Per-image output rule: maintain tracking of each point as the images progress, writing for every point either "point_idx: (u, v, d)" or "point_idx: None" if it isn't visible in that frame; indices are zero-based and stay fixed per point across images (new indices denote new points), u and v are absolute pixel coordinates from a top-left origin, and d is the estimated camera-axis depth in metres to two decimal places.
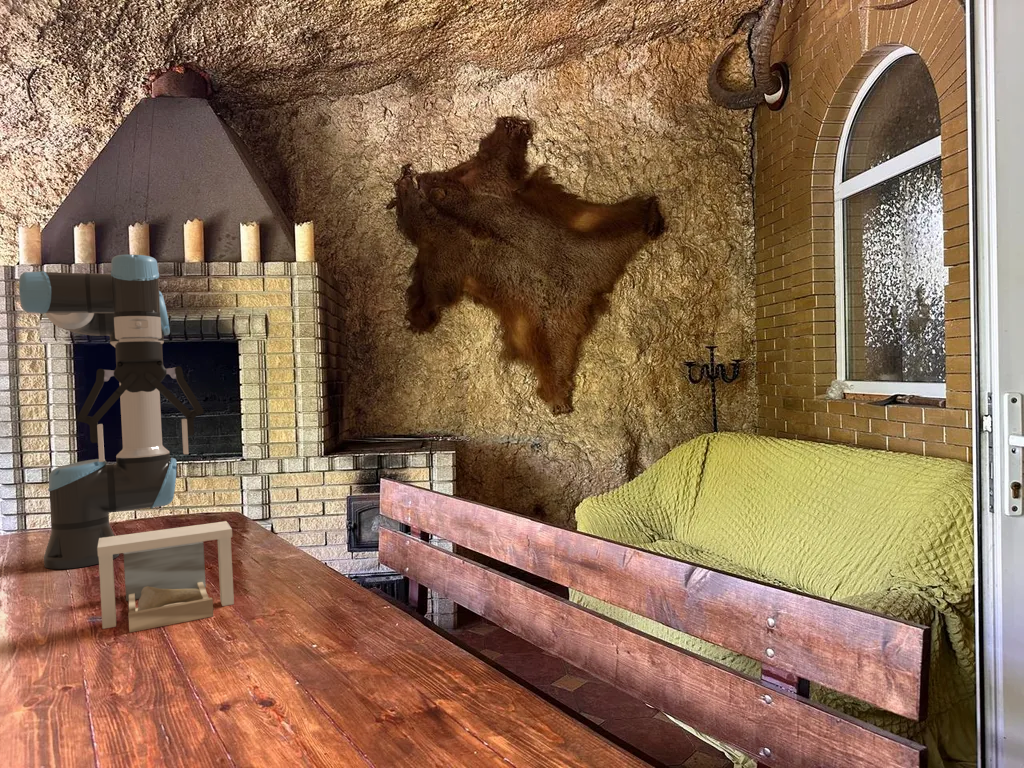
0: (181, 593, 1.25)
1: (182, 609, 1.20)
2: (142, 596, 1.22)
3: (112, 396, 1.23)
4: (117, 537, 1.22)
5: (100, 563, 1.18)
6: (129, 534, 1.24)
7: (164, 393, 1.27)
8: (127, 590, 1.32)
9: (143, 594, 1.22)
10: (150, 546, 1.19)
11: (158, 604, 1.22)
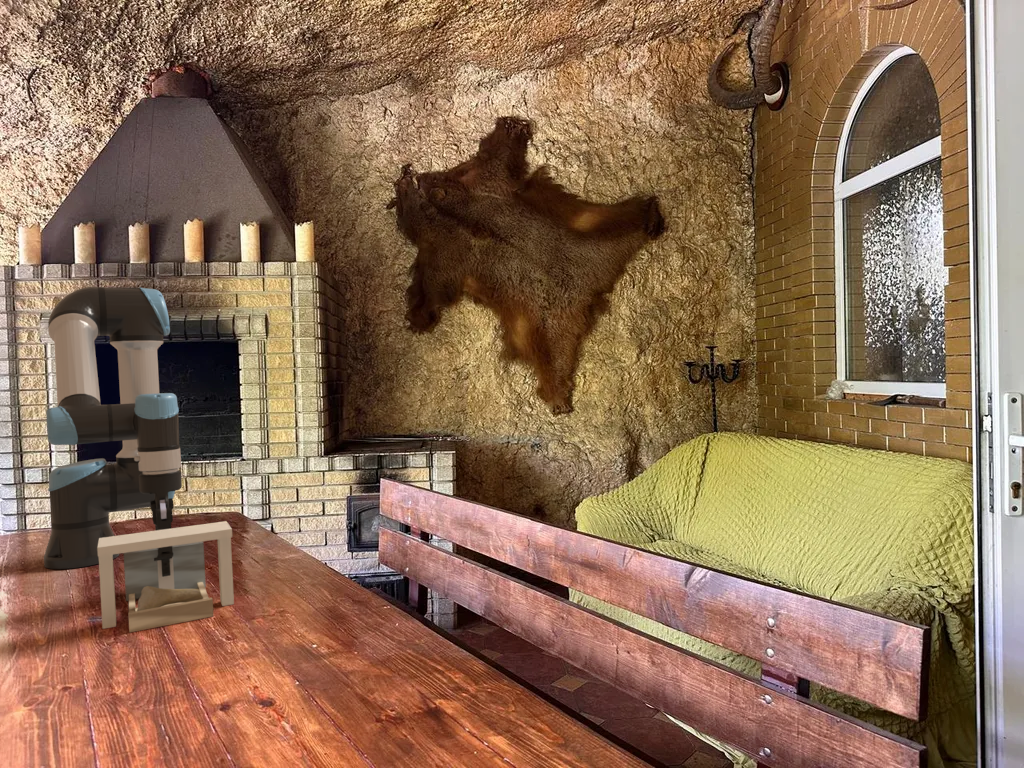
0: (181, 593, 1.25)
1: (182, 609, 1.20)
2: (142, 596, 1.22)
3: None
4: (117, 537, 1.22)
5: (100, 563, 1.18)
6: (129, 534, 1.24)
7: (156, 526, 1.35)
8: (127, 590, 1.32)
9: (143, 594, 1.22)
10: (150, 546, 1.19)
11: (157, 604, 1.22)
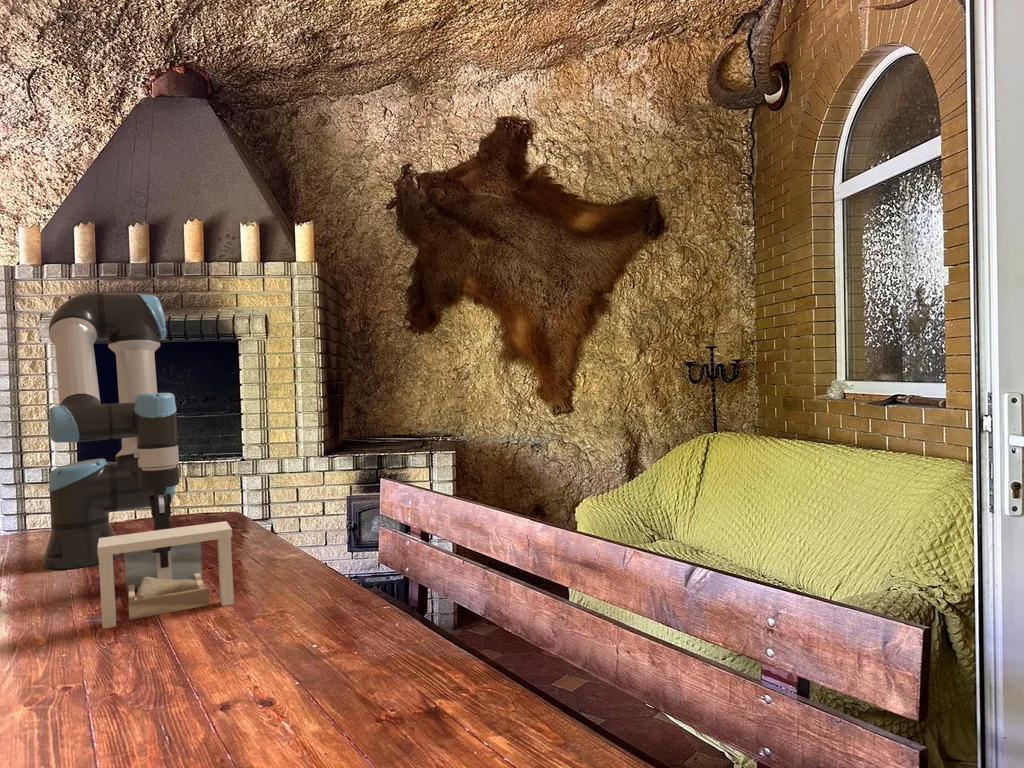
0: (178, 583, 1.31)
1: (180, 598, 1.26)
2: (141, 586, 1.28)
3: (154, 519, 1.45)
4: (117, 537, 1.22)
5: (100, 563, 1.18)
6: (129, 534, 1.24)
7: (155, 520, 1.41)
8: (127, 581, 1.38)
9: (142, 584, 1.28)
10: (150, 546, 1.19)
11: (155, 593, 1.28)
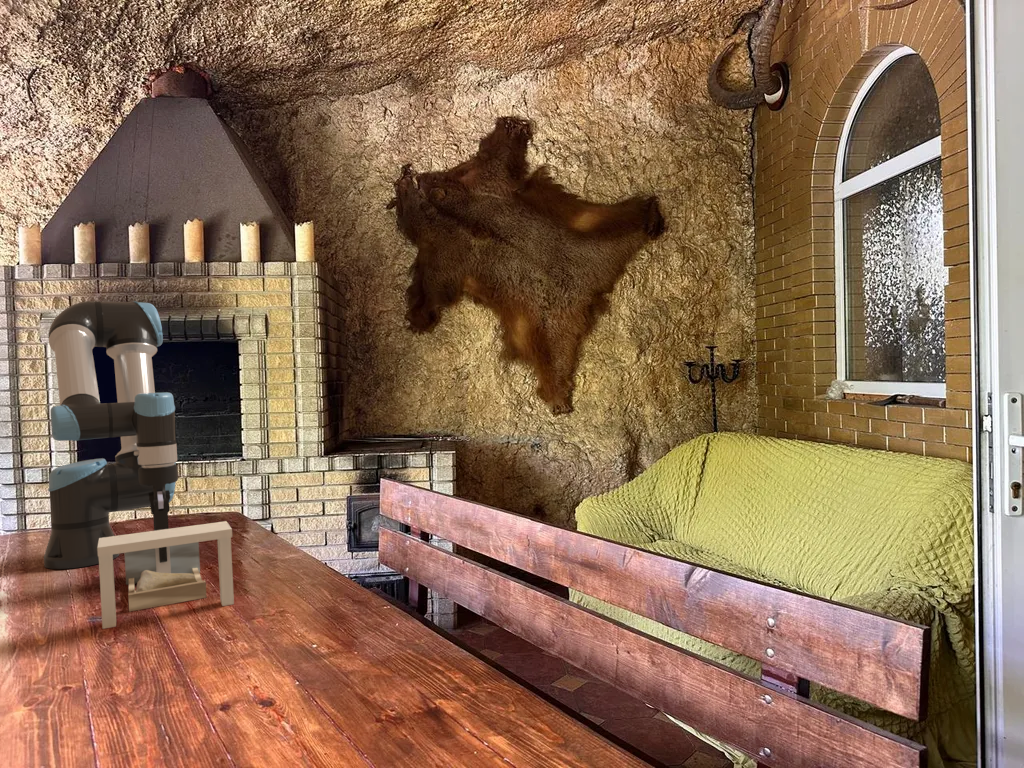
0: (176, 577, 1.36)
1: (178, 591, 1.30)
2: (140, 579, 1.32)
3: None
4: (117, 537, 1.22)
5: (100, 563, 1.18)
6: (129, 534, 1.24)
7: (154, 516, 1.45)
8: (127, 575, 1.43)
9: (141, 577, 1.33)
10: (150, 546, 1.19)
11: (154, 586, 1.32)
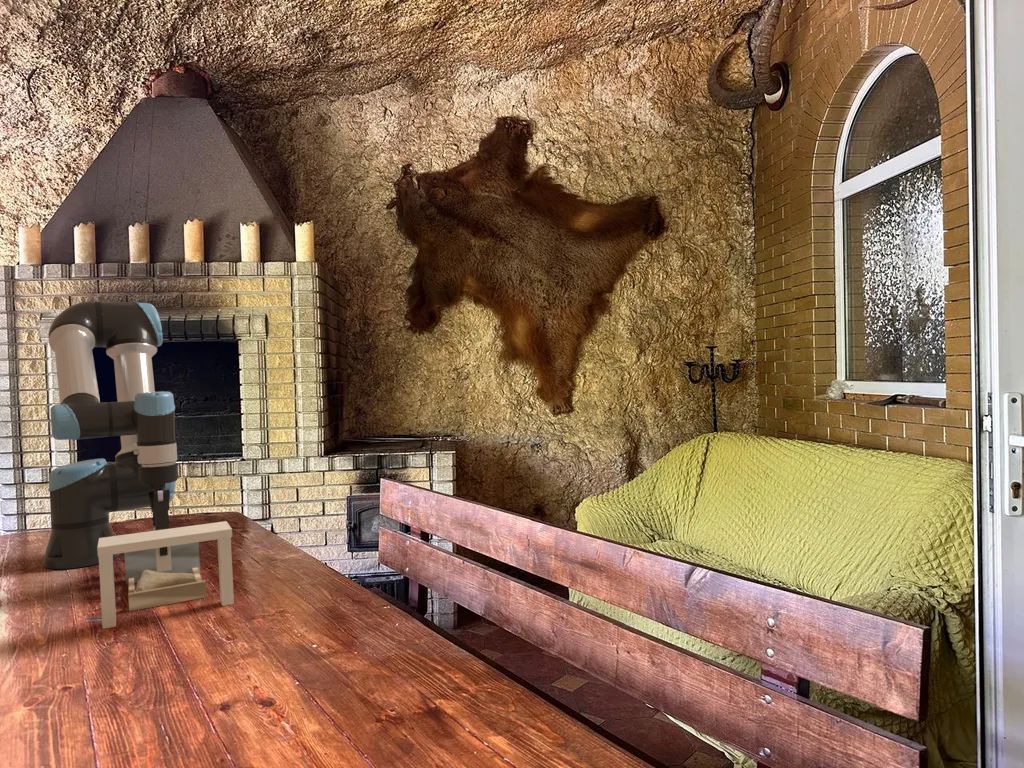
0: (176, 577, 1.36)
1: (178, 590, 1.30)
2: (140, 578, 1.32)
3: None
4: (117, 537, 1.22)
5: (100, 563, 1.18)
6: (129, 534, 1.24)
7: (154, 513, 1.44)
8: (127, 574, 1.43)
9: (141, 577, 1.33)
10: (150, 546, 1.19)
11: (154, 586, 1.32)
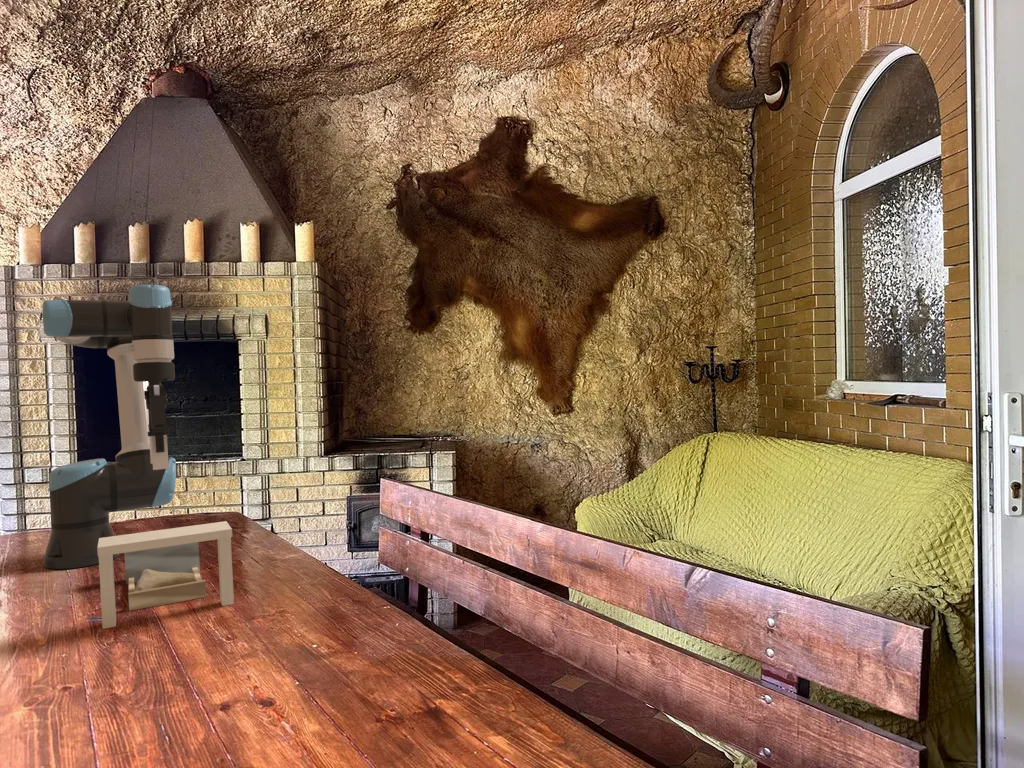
0: (176, 576, 1.36)
1: (178, 590, 1.31)
2: (140, 578, 1.33)
3: None
4: (117, 537, 1.22)
5: (100, 563, 1.18)
6: (129, 534, 1.24)
7: (150, 410, 1.37)
8: (127, 574, 1.43)
9: (141, 576, 1.33)
10: (150, 546, 1.19)
11: (153, 585, 1.32)
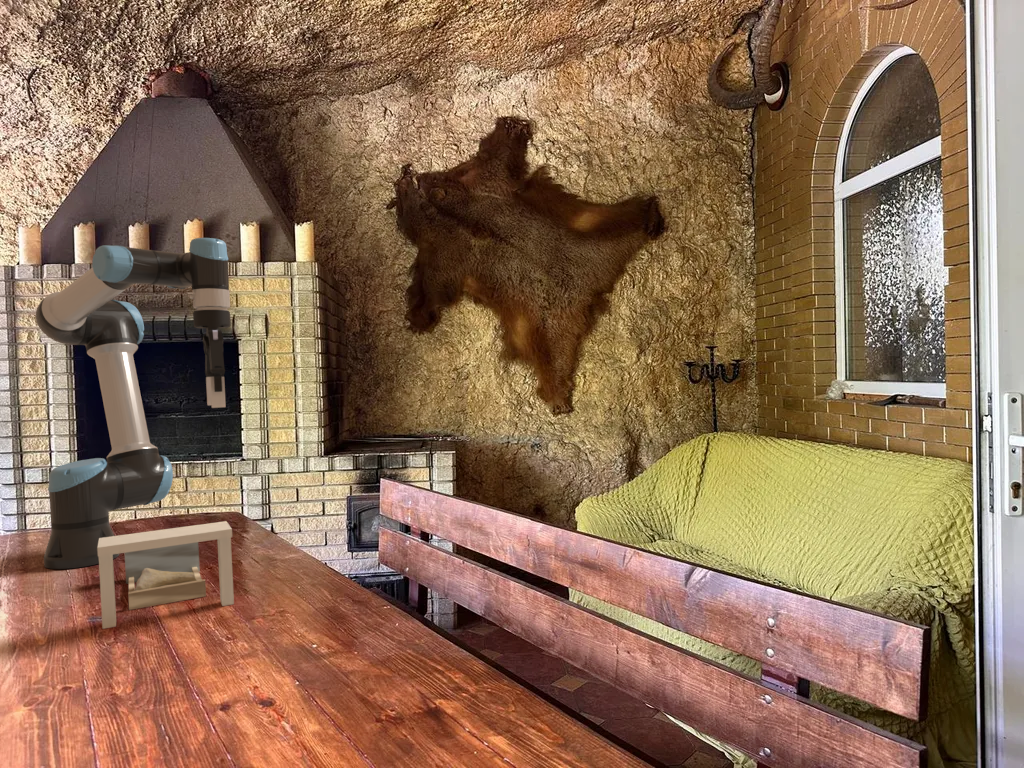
0: (176, 576, 1.36)
1: (178, 589, 1.31)
2: (140, 577, 1.34)
3: (206, 355, 1.56)
4: (117, 537, 1.22)
5: (100, 563, 1.18)
6: (129, 534, 1.24)
7: (208, 353, 1.49)
8: (127, 573, 1.44)
9: (141, 575, 1.34)
10: (150, 546, 1.19)
11: (153, 584, 1.33)
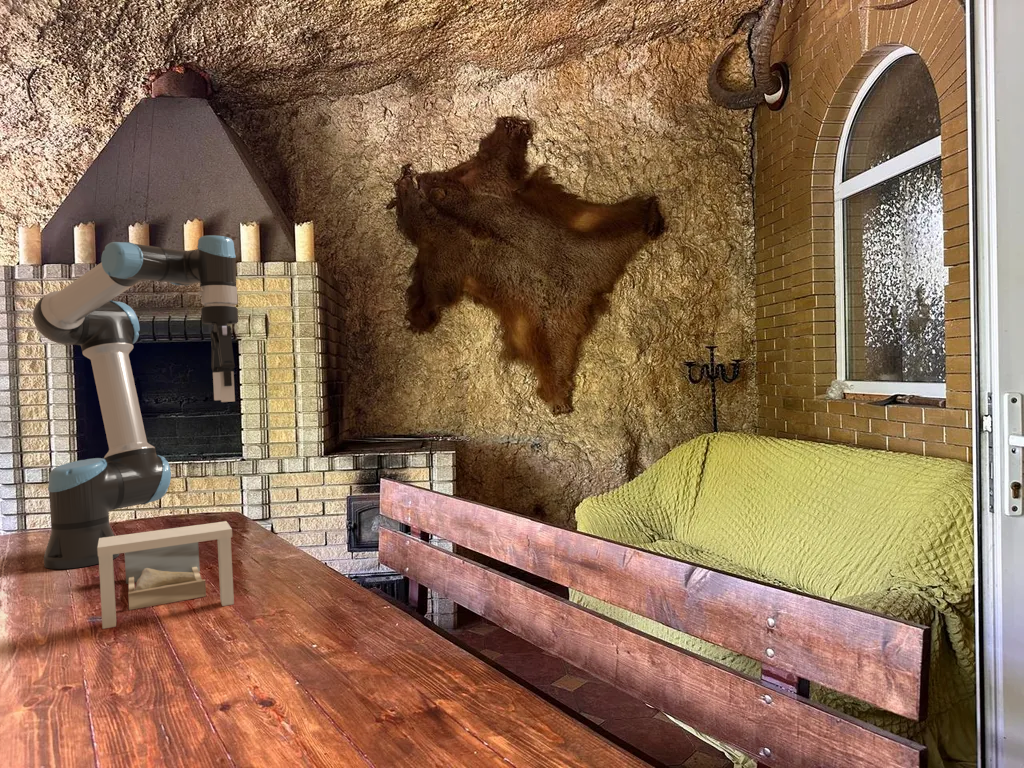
0: (176, 576, 1.36)
1: (178, 589, 1.31)
2: (140, 577, 1.34)
3: (213, 351, 1.59)
4: (117, 537, 1.22)
5: (100, 563, 1.18)
6: (129, 534, 1.24)
7: (217, 349, 1.51)
8: (127, 573, 1.44)
9: (141, 575, 1.34)
10: (150, 546, 1.19)
11: (153, 584, 1.33)
